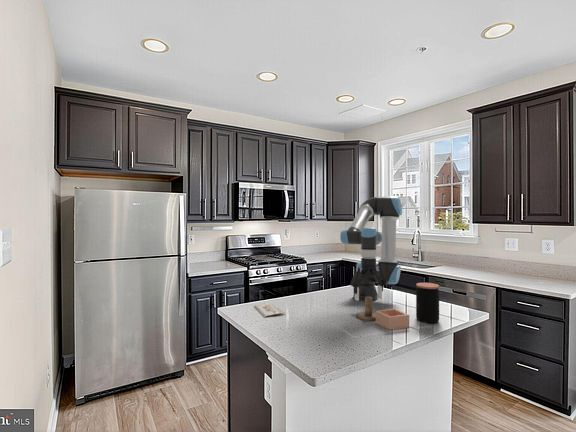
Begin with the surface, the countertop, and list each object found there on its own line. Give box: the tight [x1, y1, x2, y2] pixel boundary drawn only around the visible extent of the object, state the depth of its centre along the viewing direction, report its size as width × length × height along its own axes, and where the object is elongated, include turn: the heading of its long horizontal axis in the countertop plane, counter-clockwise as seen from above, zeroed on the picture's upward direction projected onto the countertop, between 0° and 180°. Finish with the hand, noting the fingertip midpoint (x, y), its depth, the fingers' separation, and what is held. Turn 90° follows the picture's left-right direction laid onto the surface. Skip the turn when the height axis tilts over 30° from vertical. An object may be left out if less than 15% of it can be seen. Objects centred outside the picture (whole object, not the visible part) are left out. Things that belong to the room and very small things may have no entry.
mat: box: [349, 313, 375, 324], centre depth 172 cm, size 14×14×1 cm
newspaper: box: [253, 302, 287, 318], centre depth 185 cm, size 23×12×2 cm, turn 20°
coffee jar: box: [415, 282, 440, 325], centre depth 167 cm, size 11×11×18 cm
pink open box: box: [375, 308, 410, 330], centre depth 160 cm, size 11×11×6 cm
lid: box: [355, 297, 376, 322], centre depth 172 cm, size 12×12×10 cm
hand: (368, 299), depth 171 cm, fingers open, 13 cm apart
